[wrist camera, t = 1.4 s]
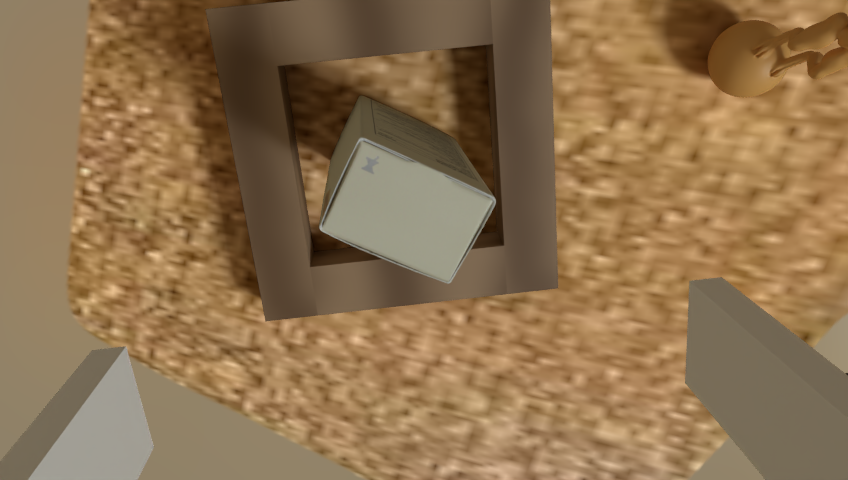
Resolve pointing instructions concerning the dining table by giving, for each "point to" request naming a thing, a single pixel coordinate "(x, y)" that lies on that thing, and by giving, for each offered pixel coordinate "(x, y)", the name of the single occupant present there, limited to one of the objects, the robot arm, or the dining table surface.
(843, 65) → the figurine
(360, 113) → the skincare box
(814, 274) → the dining table surface
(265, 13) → the stand
